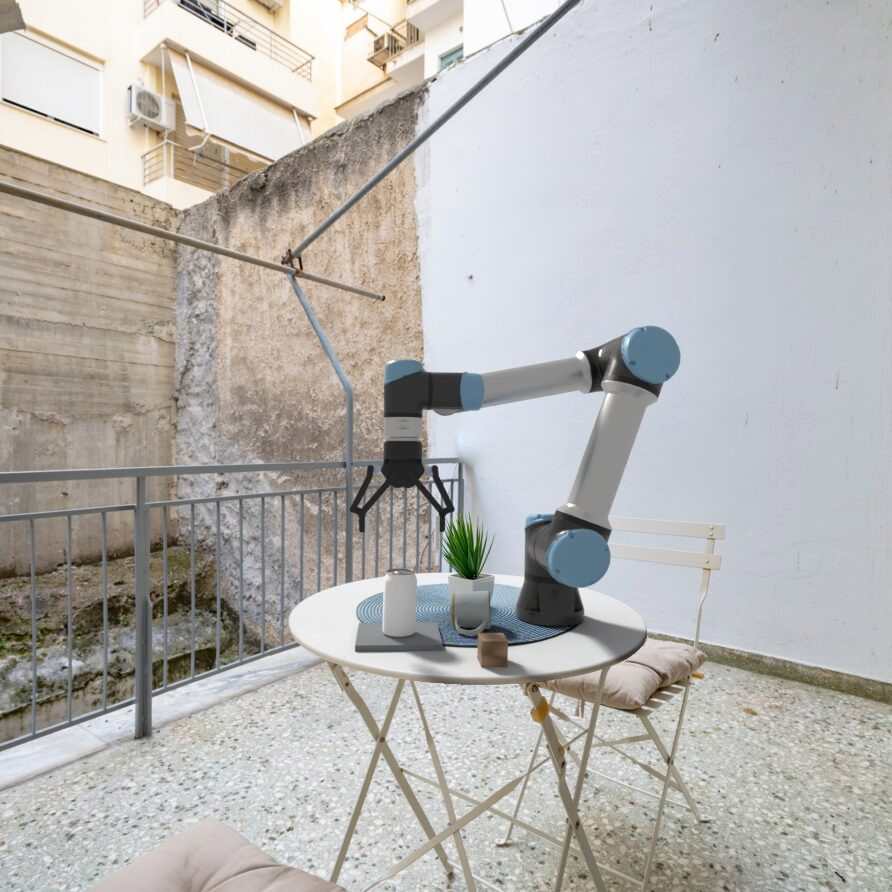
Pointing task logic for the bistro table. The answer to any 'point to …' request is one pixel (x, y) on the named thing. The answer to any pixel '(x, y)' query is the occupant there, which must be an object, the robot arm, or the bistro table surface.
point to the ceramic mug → (471, 611)
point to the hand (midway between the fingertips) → (402, 549)
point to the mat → (376, 640)
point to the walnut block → (492, 650)
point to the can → (399, 603)
